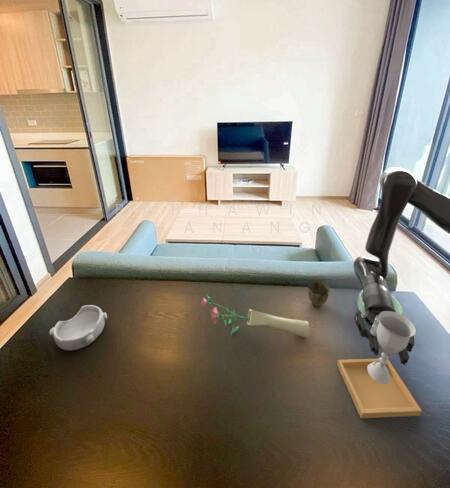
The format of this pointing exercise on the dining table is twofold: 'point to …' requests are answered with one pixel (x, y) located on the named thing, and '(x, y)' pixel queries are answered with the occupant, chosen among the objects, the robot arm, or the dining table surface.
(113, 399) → the dining table surface
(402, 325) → the chalice
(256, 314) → the flower vase
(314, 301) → the cup
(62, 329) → the dish
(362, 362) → the tray
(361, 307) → the bowl
